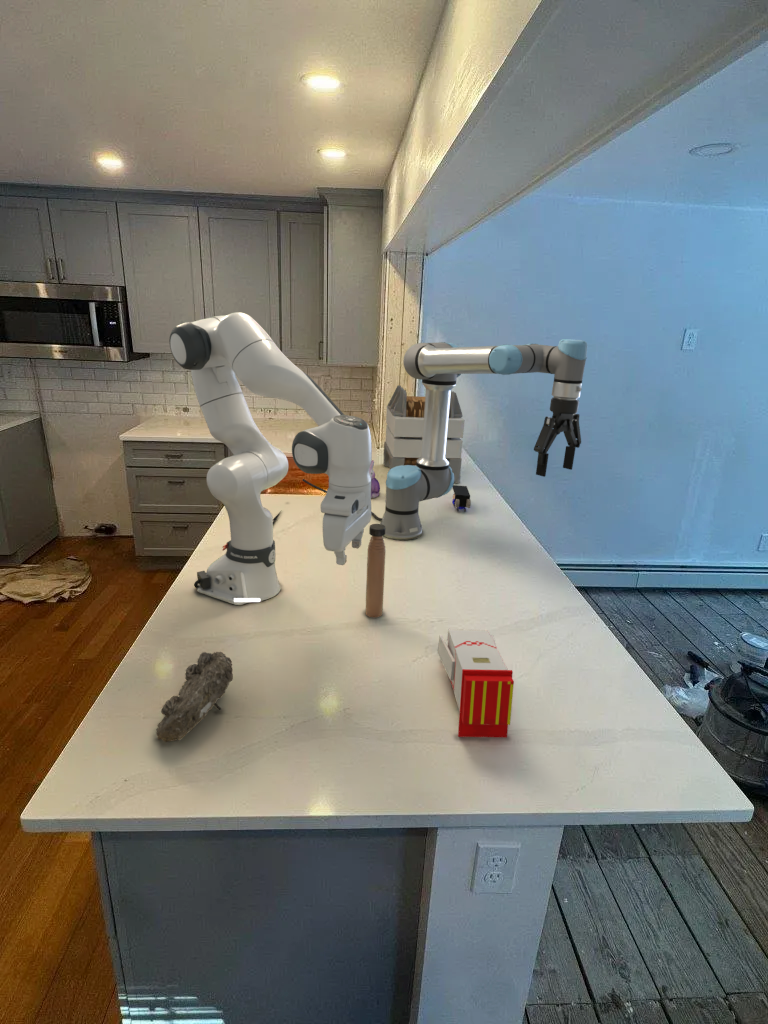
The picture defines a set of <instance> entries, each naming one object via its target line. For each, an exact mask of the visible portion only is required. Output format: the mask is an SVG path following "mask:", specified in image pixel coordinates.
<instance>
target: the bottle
mask: <svg viewBox="0 0 768 1024" xmlns="http://www.w3.org/2000/svg"><path fill="white" fill-rule="evenodd" d="M386 551H387V550H386V543H385V540H384V536H381V537H375V536H370V539H369V542H368V545H367V556H366V583H365V609H364V611H365V612H364V613H365V615H366V616H367V617H369V618H379V617H381V616H382V615H383V610H384V593H385V592H384V590H385V589H384V588H385V570H386Z"/></svg>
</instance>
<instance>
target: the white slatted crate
mask: <svg viewBox="0 0 768 1024" xmlns="http://www.w3.org/2000/svg"><path fill="white" fill-rule="evenodd" d="M407 394H408V393H407V390H406V389H404V388H403V387H402V385H399V384H398V385H397V386H396V388H395V390H394V392H393V394H392V395H391V398H390V400H389V402H388V404H387V405H386V413H385V414H386V415H385V423H386V428H385V438H384V442H383V466H384V467H388V468H389V470H390V469H392V468H394V467H396V466H401V465H404V466H405V465H413V466H416V461H417V459H418V458H420V457H421V451H422V437H423V423H424V409H425V396H415V395H414V396H413V395H412V396H411V395H407ZM464 429H465V419H464V418H463V411H462V408H461V405H460V402H459V398H458V395H457V392H455V391H453V390H451V396H450V408H449V420H448V431H447V443H446V454H445V458H446V459H447V461H448V462H449V466H450V467H451V469H452V473H454V484H455V483H456V484H459V483H461V472H462V461H463V460H462V453H463V442H464V441H463V440H462V439H463V438H464V431H465V430H464Z"/></svg>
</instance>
